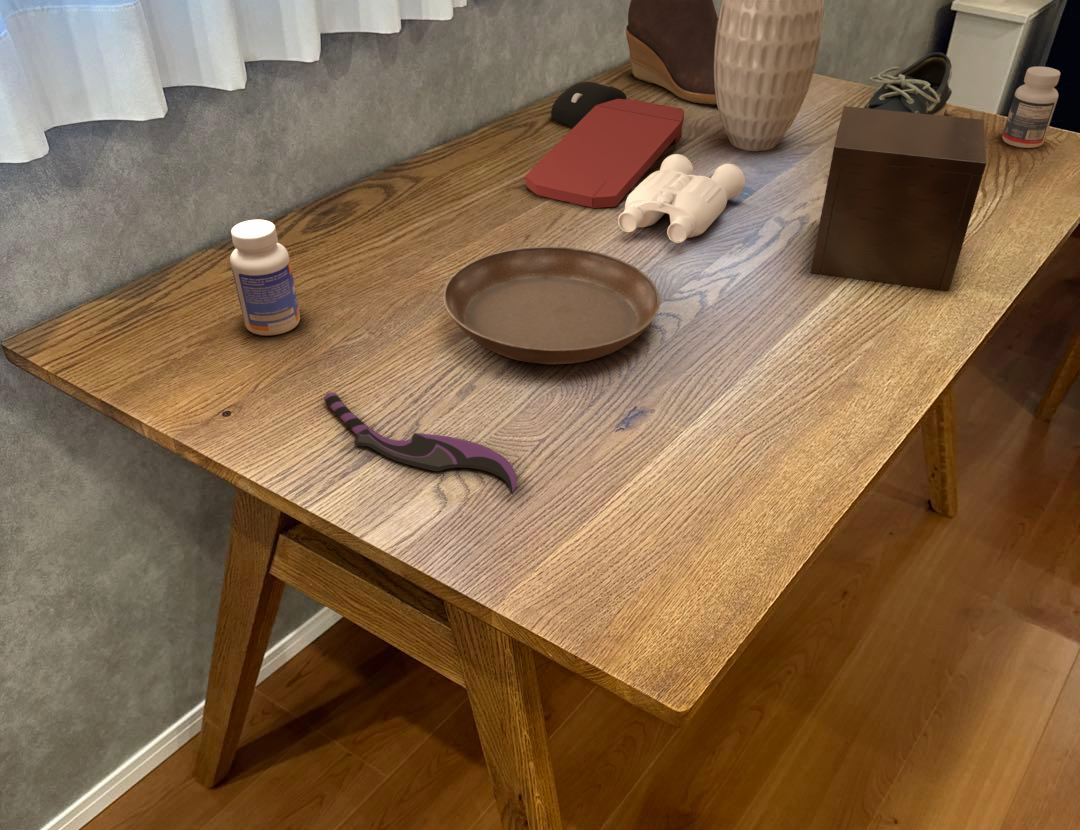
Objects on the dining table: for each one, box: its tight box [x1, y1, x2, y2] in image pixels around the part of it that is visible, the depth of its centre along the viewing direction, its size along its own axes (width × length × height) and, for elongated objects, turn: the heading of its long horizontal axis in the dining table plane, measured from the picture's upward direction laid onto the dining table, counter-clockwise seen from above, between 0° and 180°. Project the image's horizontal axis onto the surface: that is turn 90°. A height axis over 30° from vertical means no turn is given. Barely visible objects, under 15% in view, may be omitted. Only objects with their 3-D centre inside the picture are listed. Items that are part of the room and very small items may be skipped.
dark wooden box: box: [809, 105, 987, 292], centre depth 105 cm, size 14×12×13 cm
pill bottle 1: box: [229, 219, 301, 336], centre depth 96 cm, size 5×5×10 cm
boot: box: [625, 0, 718, 105], centre depth 143 cm, size 9×24×20 cm, turn 47°
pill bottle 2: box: [1001, 66, 1061, 149], centre depth 132 cm, size 5×5×9 cm
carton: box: [524, 98, 685, 209], centre depth 128 cm, size 12×5×25 cm
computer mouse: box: [550, 81, 628, 128], centre depth 141 cm, size 8×12×4 cm, turn 139°
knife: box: [323, 391, 518, 493], centre depth 84 cm, size 21×1×5 cm
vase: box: [714, 0, 825, 152], centre depth 125 cm, size 13×13×28 cm
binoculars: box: [617, 153, 746, 244], centre depth 115 cm, size 10×16×5 cm, turn 153°
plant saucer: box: [442, 246, 661, 365], centre depth 98 cm, size 21×21×3 cm
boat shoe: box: [863, 51, 953, 116], centre depth 134 cm, size 26×10×8 cm, turn 140°
